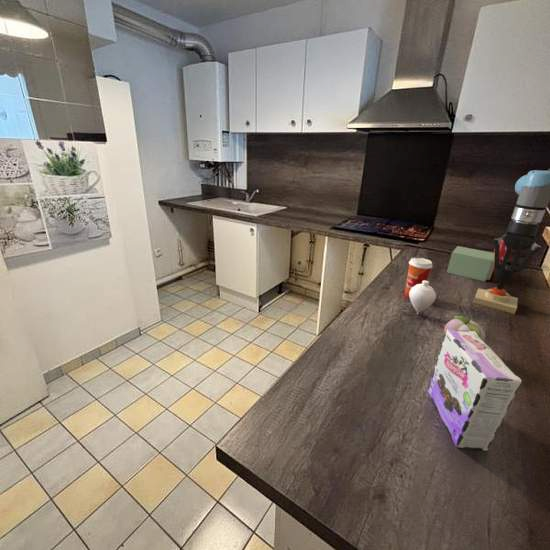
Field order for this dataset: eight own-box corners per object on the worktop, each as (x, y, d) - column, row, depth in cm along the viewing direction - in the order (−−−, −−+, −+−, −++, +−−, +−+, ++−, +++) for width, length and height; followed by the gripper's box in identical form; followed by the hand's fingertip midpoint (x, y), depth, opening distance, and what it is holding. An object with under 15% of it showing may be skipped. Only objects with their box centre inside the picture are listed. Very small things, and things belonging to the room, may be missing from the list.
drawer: (503, 275, 127) (509, 258, 124) (501, 283, 119) (508, 265, 116) (457, 264, 137) (462, 249, 134) (453, 271, 129) (458, 255, 126)
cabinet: (488, 273, 131) (495, 253, 127) (485, 281, 122) (492, 260, 118) (451, 265, 139) (457, 246, 136) (446, 272, 130) (452, 252, 127)
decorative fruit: (487, 358, 76) (500, 325, 72) (462, 363, 73) (474, 330, 69) (456, 337, 84) (467, 307, 80) (434, 341, 82) (443, 310, 78)
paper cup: (398, 291, 111) (406, 256, 105) (418, 291, 111) (427, 257, 105) (406, 300, 104) (415, 264, 98) (427, 301, 104) (437, 265, 98)
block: (515, 303, 105) (519, 293, 103) (514, 314, 97) (519, 303, 96) (476, 293, 112) (479, 283, 110) (473, 302, 104) (476, 292, 103)
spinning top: (431, 323, 91) (441, 288, 86) (405, 317, 93) (413, 283, 88) (428, 311, 97) (437, 278, 93) (404, 306, 100) (411, 274, 95)
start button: (505, 294, 103) (506, 289, 103) (504, 297, 100) (506, 293, 100) (491, 290, 106) (493, 286, 105) (490, 294, 103) (492, 289, 102)
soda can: (510, 262, 145) (518, 239, 140) (504, 265, 141) (513, 241, 137) (494, 258, 150) (502, 236, 146) (488, 260, 147) (496, 237, 142)
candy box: (425, 390, 65) (445, 327, 58) (453, 392, 64) (476, 330, 58) (455, 448, 52) (484, 376, 45) (489, 452, 52) (524, 380, 45)
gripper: (499, 220, 94) (476, 285, 103) (552, 227, 86) (522, 297, 96) (500, 216, 99) (479, 279, 109) (551, 223, 92) (523, 290, 101)
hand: (499, 288), depth 102 cm, fingers closed
